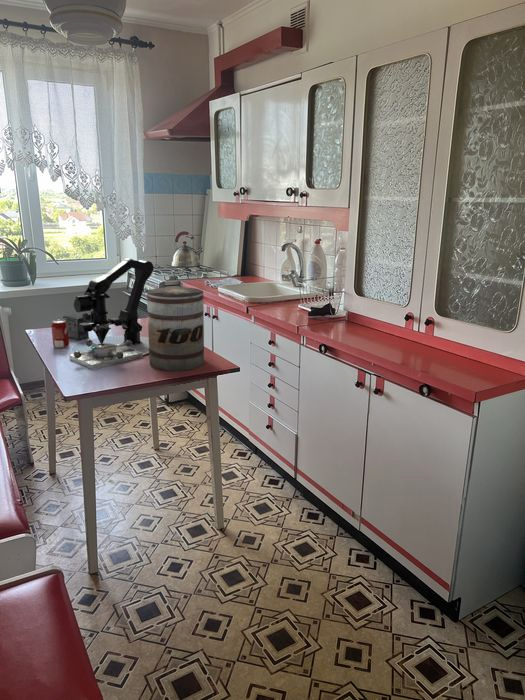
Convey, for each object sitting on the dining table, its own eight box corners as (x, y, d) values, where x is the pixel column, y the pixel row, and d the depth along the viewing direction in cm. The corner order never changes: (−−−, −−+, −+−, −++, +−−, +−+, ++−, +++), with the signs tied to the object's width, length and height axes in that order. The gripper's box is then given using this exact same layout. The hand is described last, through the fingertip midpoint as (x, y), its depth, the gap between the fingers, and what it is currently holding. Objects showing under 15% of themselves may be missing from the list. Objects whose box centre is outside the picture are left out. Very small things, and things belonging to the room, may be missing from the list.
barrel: (181, 375, 206) (180, 299, 197) (138, 365, 216) (134, 293, 208) (214, 360, 225) (214, 290, 216) (172, 351, 235) (171, 285, 226)
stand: (119, 348, 238) (119, 343, 238) (142, 357, 227) (142, 351, 226) (69, 359, 222) (69, 353, 221) (92, 369, 210) (91, 363, 209)
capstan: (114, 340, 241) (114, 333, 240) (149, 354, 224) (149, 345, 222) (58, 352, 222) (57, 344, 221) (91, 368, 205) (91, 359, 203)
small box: (89, 337, 254) (88, 316, 251) (78, 340, 248) (77, 319, 245) (75, 334, 259) (73, 313, 256) (64, 337, 254) (62, 315, 251)
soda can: (64, 349, 234) (61, 323, 231) (50, 348, 236) (47, 322, 232) (72, 345, 241) (70, 319, 237) (58, 344, 242) (56, 318, 238)
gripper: (108, 303, 242) (110, 335, 246) (70, 309, 229) (72, 343, 233) (121, 307, 235) (123, 340, 239) (83, 313, 221) (85, 348, 226)
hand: (101, 343), depth 234 cm, fingers closed
